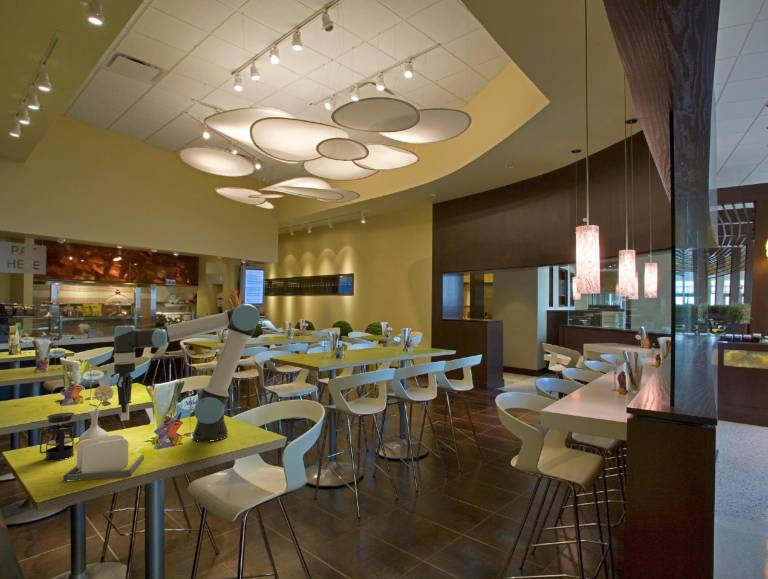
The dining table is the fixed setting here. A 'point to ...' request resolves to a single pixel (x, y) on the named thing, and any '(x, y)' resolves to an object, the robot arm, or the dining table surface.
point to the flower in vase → (95, 431)
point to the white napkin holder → (102, 454)
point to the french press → (59, 436)
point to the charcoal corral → (106, 474)
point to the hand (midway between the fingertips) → (124, 419)
